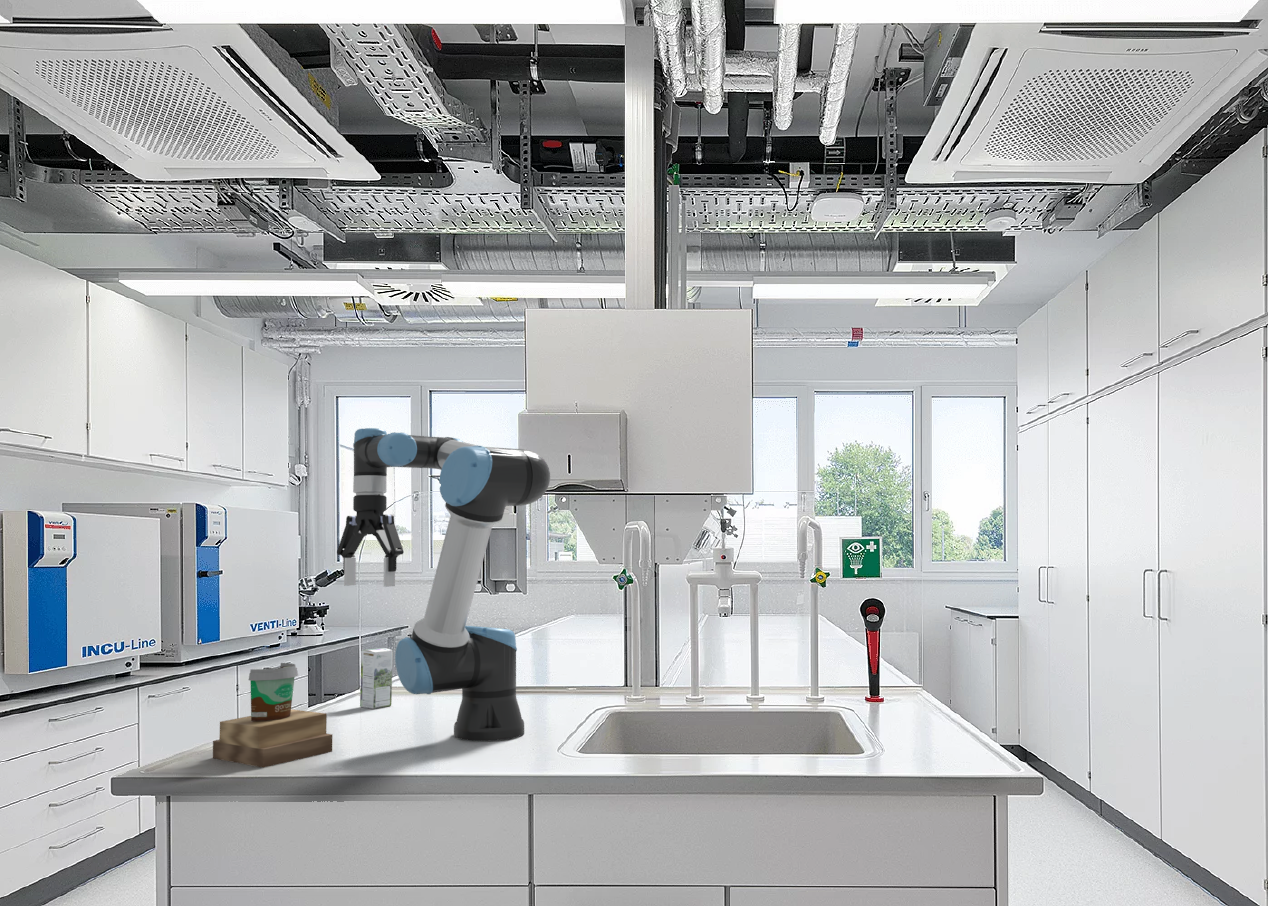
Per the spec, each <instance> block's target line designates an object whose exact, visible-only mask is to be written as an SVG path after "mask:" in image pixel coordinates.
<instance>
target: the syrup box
mask: <svg viewBox="0 0 1268 906" xmlns="http://www.w3.org/2000/svg"><path fill="white" fill-rule="evenodd" d="M393 654H394V653H393V649H390V648H386V647H378V648H371V649H362V650H361V652H360V692H359V693H360V695H359V698H360V699H359V701H360V703H359V704H360V705H359V706H360V707H361V708H365V709H371V710H372V709H374V710H375V709H381V708H387V707H392V701H393V700H392V698H393V697H392V695H393V691H392V690H393Z"/></svg>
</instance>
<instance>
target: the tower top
mask: <svg viewBox="0 0 1268 906" xmlns="http://www.w3.org/2000/svg"><path fill="white" fill-rule="evenodd" d="M327 715H328V714H327V713H324V712H318V711H317V712H316V711H308V710H301V709H292V708H291V714H290V717H287V718H283V719H277V720H267V721H251V715H249V716H243V717H238V718H232V719H227V720H222V721H219V739H218V740H219V743H225V744H232V745H238V746H245V747H251V748H258V749H260V748H265V747H269V746H273V745H278V744H282V743H287V742H291V741H296V740H300V739H305V738H309V737H314V736H318V735H322V734H327V718H328V717H327Z"/></svg>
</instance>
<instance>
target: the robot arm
mask: <svg viewBox="0 0 1268 906" xmlns="http://www.w3.org/2000/svg"><path fill="white" fill-rule="evenodd" d="M353 441H354V442H353V445H352V447H353V481H352V482H353V486H352V487H353V488H352V489H353V491H352V492H353V493H354V494H355V495H354V496H353V497H352V498H353V499H352V502H353V503H352V505H353V506H352V509H353V511H354V512H356V515H347V516H346V519H345V520H346V521H345V525H344V526H345V527H344V530H343V532H342V535H341V539H340V541H339V543H338V546H337V547H338V548H337V551H336V555H338V556H341V557H342V558H343V561H342V562H343V572H344V573H343V575H344V577H343V582H344V583H343V586H346V587H349V586H356V578H357V577H356V576H357V573H356V572H357V567H356V566H357V564H356V563H357V558H356V556H355V554H356V552H357V550H358V549H359V548H360V547H359V546H360V544H362V541H363V540H364V538H365V537H366V536H367V535H372V536H374V537H375V538H376V540H377V542H378V544H379V545H380V547H381V549H382V550H383V553H384V558H383V587H384V588H387V587H396V572H397V560H398V559H397V558H398V557H400V555H404V548H403V546H402V543H401V540H400V537H399V533H398V530H397V527H396V524H395V515H394V514H384V512H386V511H387V504H388V503H387V500H388V499H387V496H386V495H385V494H386V493H387V476H388V475H387V471H388V469H387V468H408V469H409V468H411V469H413V468H414V469H416V468H417V469H434V470H435V469H436V470H440V473H439V478H438V479H439V484H440V486H439V492H440V496H441V498H442V500H443V501H444V502H445V504H444V507H445V508H446V510H447V512H448V514H449V515H450V517H449V520H448V524H447V526H446V527H447V528H446V531H445V535H444V539H443V543H442V547H441V551H440V555H439V558H438V563H437V566H436V569H435V570H436V571H435V574H434V578H433V583H432V586H431V590H430V593H429V598H428V601H427V605H426V609H425V613H424V616H423V618H421V619H418V620H417V621H416V622H415V623H414V625H413V629H412V632H411V633H412V634H411V636H410V637H409V636H408V637H407V636H406V637H404V638H402V639H400V640H399V641H398V643H397V645H396V648H395V654H394V655H395V656H394V660H395V668H396V671H397V675H398V679H399V681H400V683H401V685H402V686H403V688H404V690H406V691H407V692H409V694H413V695H425V694H426V695H431V694H433V693H442V692H449V691H457V690H461V692H462V693H461V702H460V706H459V709H458V712H457V718H456V720H455V722H454V725H453V737H454V738H456V739H457V740H458V739H459V740H461V741H462V740H463V741H471V742H472V741H473V742H491V741H492V742H493V741H502V740H511V739H514V738H518V737H521V736H523V735H525V721H524V719H523V717H522V714H521V709H520V706H519V702H518V699H517V651H518V648H517V641H516V635H515V632H514V631H513V630H511V629H509V628H501V627H500V628H499V627H489V626H487V627H486V626H475V625H467V620H468V616H469V613H470V610H471V607H472V602H473V599H474V595H475V590H476V588H477V584H478V580H479V576H480V573H481V569H482V565H483V562H484V557H485V554H486V550H487V547H488V544H489V541H490V536H491V532H492V529H493V526H494V525H496V524H497V523H500V522H501V521H502V520H503V517H504V513H505V509H506V507H517V506H519V507H523V506H527V505H530V504H532V503H534V502H537V501H538V500H540V499H541V498H542V497H543V496H544V495H545V494H546V492H547V490H548V488H549V485H550V482H551V472H550V471H551V470H550V467H549V465H548V463H547V462H546V460H545V459H544V458H543V457H542V456H541V455H540V454H538V453H537V452H535V451H532V450H529V449H524V448H506V447H492V446H491V447H490V446H483V445H477V444H472V443H469V442H464V441H463V439H461V438H456V437H449V436H445V437H444V436H443V437H442V436H441V437H440V436H427V435H426V436H424V435H415V434H414V435H413V434H408V433H405V432H390V433H387V430H385V429H383V428H377V427H376V428H375V427H369V428H368V427H364V428H358V429H356V430H355V432H354V439H353Z"/></svg>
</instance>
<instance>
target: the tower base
mask: <svg viewBox="0 0 1268 906" xmlns="http://www.w3.org/2000/svg"><path fill="white" fill-rule="evenodd" d="M219 740H220V739H215V740H212V759H215V760H221V761H225V762H229V763H230V762H232V763H237V764H243V765H247V766H252V767H257V768H262V769H263V768H268V767H273V766H276V765H281V764H285V763H289V762H294V761H299V760H301V759H306V758H311V757H314V756H316V757H317V756H319V755H324V754H328V753H332V752H333V734H331V733H326V734H322V735H318V736H314V737H309V738H305V739H300V740H296V741H291V742H287V743H282V744H278V745H273V746H269V747H265V748H260V749H258V748H251V747H245V746H238V745H232V744H225V743H219ZM298 759H299V760H298Z"/></svg>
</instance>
